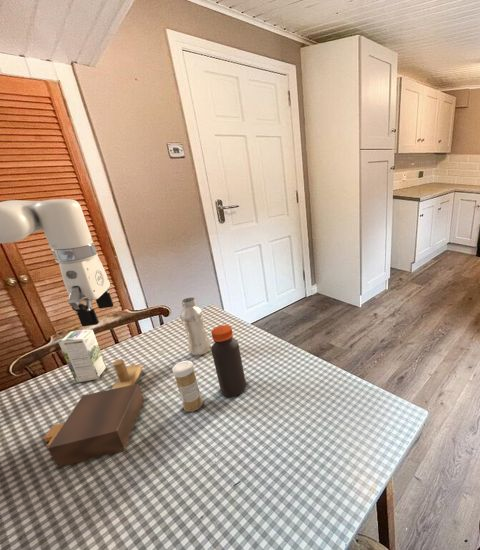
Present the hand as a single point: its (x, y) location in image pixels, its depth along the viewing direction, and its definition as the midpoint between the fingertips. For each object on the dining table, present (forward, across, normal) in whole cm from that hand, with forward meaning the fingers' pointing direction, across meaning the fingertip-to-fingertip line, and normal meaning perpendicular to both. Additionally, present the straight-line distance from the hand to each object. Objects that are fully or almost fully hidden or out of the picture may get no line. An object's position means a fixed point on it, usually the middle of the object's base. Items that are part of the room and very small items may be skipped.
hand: (99, 315), depth 78 cm
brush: (+24, 0, 0) cm, 24 cm away
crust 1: (+23, -12, +10) cm, 28 cm away
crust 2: (+22, -18, +7) cm, 29 cm away
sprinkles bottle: (+24, -14, -19) cm, 34 cm away
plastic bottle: (+24, +12, -18) cm, 33 cm away
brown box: (+24, -15, 0) cm, 29 cm away
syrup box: (+24, +11, +12) cm, 29 cm away
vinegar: (+24, -11, -29) cm, 40 cm away
